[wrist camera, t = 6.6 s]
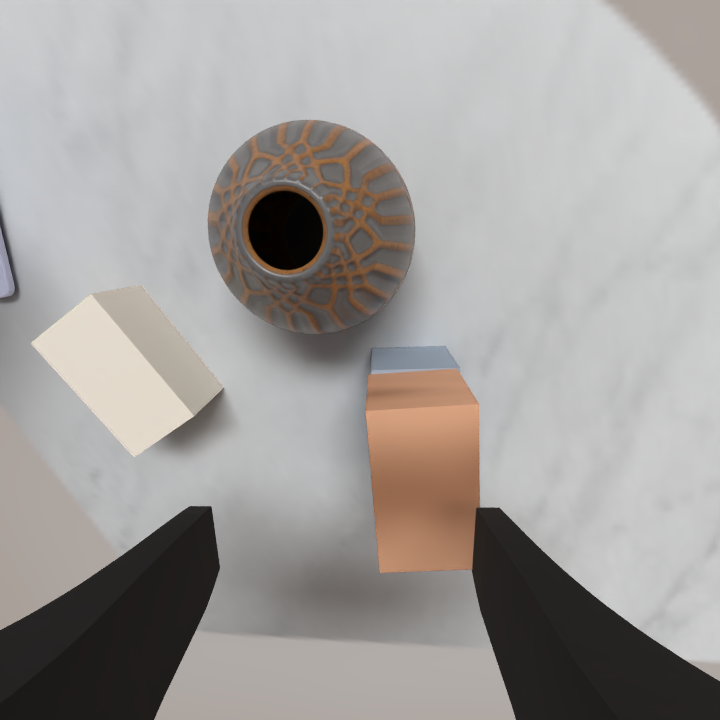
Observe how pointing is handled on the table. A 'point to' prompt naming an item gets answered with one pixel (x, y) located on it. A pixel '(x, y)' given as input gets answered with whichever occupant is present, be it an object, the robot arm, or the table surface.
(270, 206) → the vase
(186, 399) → the cream brick
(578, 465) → the table surface
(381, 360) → the slate brick
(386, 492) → the terracotta brick
